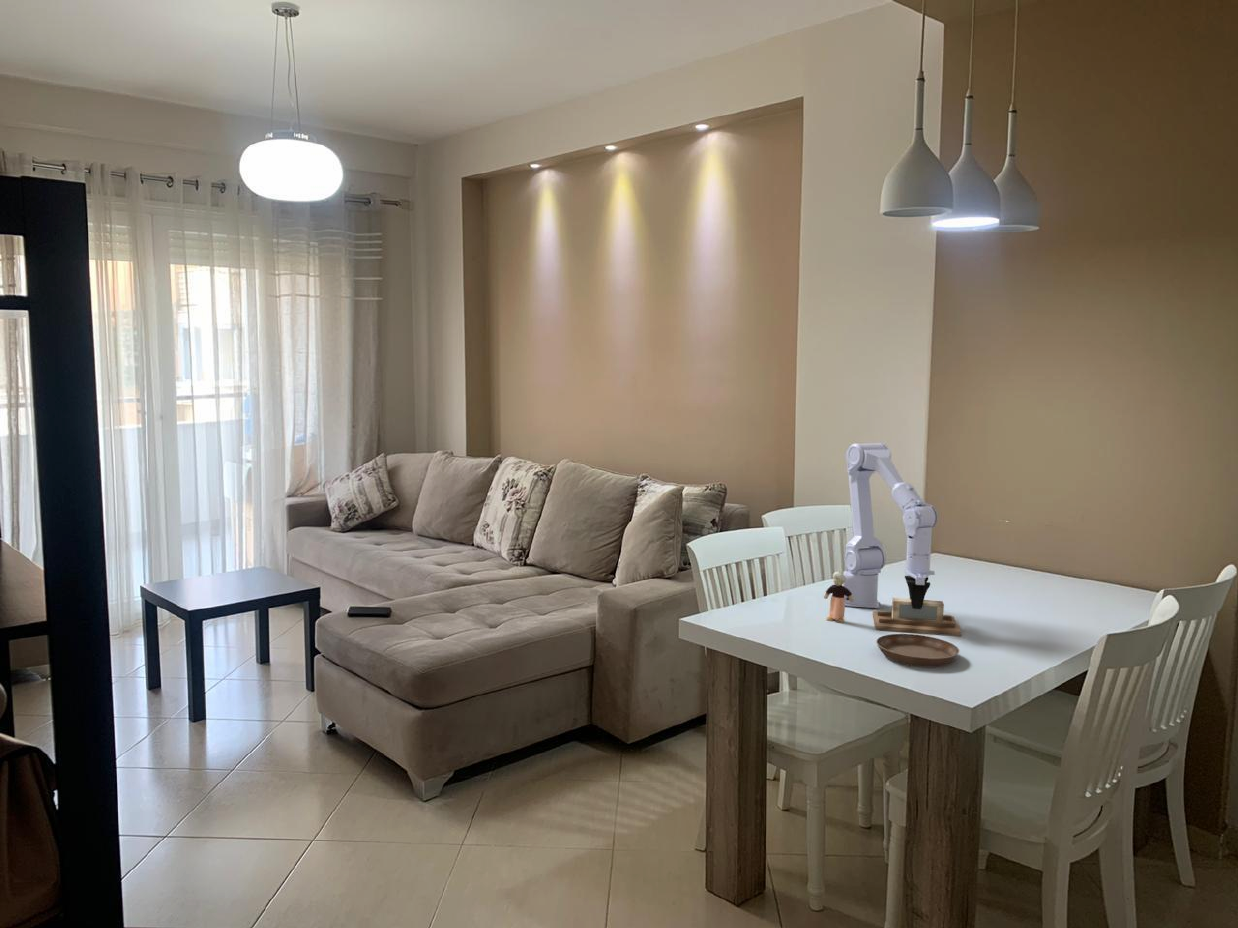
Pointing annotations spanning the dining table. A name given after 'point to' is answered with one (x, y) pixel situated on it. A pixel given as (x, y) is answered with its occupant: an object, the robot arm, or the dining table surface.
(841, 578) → the grandmother figurine
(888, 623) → the picture ledge
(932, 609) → the beige long rectangular block
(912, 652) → the plant saucer
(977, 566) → the dining table surface
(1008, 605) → the dining table surface
